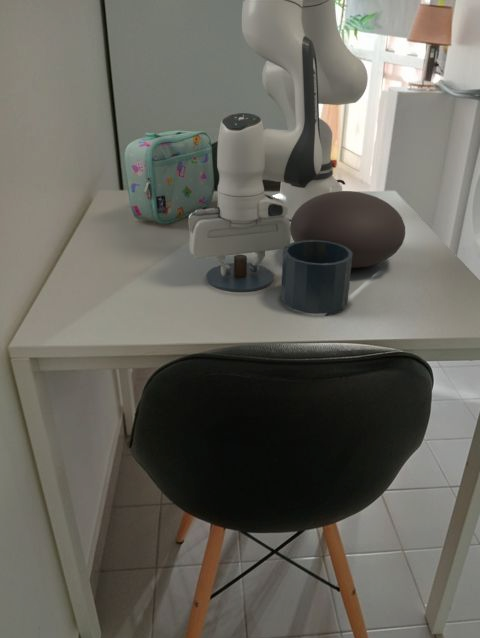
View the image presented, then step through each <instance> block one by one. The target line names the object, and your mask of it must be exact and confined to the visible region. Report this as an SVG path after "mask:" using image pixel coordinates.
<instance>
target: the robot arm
mask: <svg viewBox="0 0 480 638" xmlns="http://www.w3.org/2000/svg"><path fill="white" fill-rule="evenodd" d="M336 13H337V11H336V0H242V7H241V33H242V36H243V39H244V40H245V42H246V44H247V45H248V47H249V48H250V49H251V51H252V52H254V53H255V54H257V55H258V56H259V57H260V58H262V59H264V60H266V62H265V63H264V65H263V68H262V73H261V80H262V86H263V88H264V91H265V92H266V94H267V95H268V96H269V97H270V98H271V99H272V100H273V101H274V102H275V103H276V105H277V106H278V107H279V110H280V111H281V113H282V116H283V118H284V121H285V124H286V129H279V128H270V127H264V124H263V121H262V118H261V117H260V116H258V115H256V114H254V113H249V112H237V113H234V114H229V115H227V116H225V117H224V118H223V119H222V120H221V121H220V124H219V130H218V136H217V148H216V149H217V150H216V168H217V171H218V184H217V191H216V192H217V207H209V208H202V209H197V210H195V212H193V213H191V214H190V215H188V216H187V227H188V230H189V239H188V250H189V252H190V254H191V255H192V256H193V257H194V258H196V259H205V258H215V259H216V261H217V263H218V264H219V265H221V274H222V275H223V276H227V275H230V266H229V265H228V264H229V263H224V261H225V260H226V256H233V255H234V256H235V255H244V254H251V253H255V254H256V255H255V258H254V259H253V261H250V262H249V264H250V271H252V272H259V266H260V265H261V264H262V262H263V260H264V258H265V257H266V252H269V251H278V250H284V248H285V246H287V245H289V244H291V238H292V236H291V231H290V224H291V220H292V217H293V215H294V214H295V212H296V211H297V209H298V208H299V207H300V206H301V205H302V204H304V203H305V202H307V201H308V200H310V199H312V198H314V197H316V196H319V195H322V194H325V193H330V192H338V191H343V186H342V185H345V186H346V182H345V181H344V180H343V179H336V178H335V176H334V171H333V170H334V168H337V164H338V161H337V159H331V157H332V148H333V147H332V145H333V144H332V143H333V131H332V128H331V126H330V125H329V124H328V122H326V121H324V120H323V119H321V118H320V105H328V106H329V105H331V106H342V105H349V104H350V105H351V104H356V103H357V102H359V100H361V99H362V97H363V96H364V94H365V92H366V90H367V87H368V79H369V78H368V77H369V76H368V71H367V68H366V66H365V64H364V62H363V60H362V59H360V58H358V57H357V56H356V55H355V54H354V53H352V51H351V50H350V48H348V46H347V45H346V44H345V42H344V40H343V38H342V36H341V34H340V31H339V28H338V22H337V14H336ZM263 181H270V182H271V181H273V182H279V183H280V186H279V187H280V189H279V193H277V194H273V195H271V194H266V193H265V186H264V183H263ZM340 183H341V184H340ZM225 264H227V265H225Z"/></svg>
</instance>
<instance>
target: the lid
mask: <svg viewBox="0 0 480 638" xmlns="http://www.w3.org/2000/svg"><path fill="white" fill-rule="evenodd" d="M224 264H225V265H227V264H228V265H229V266H230V275H227V276H223V275H222V274H221V265H220V264H219V265H216V266H214V267H212V268H211V269H209V270H208V271H207V273H206V281H207V283H208V284H209V285H210V286H212V287H214V288H216V289H219V290H222V291H228V292H235V293H246V292H247V293H249V292H255V291H260V290H262V289H266V288H267V287H269V286H270V285H272V283H273V282H274V280H275V279H274V278H275V277H274V273H273V272H272V271H271V270H270V269H269V268H267V267H266V266H262V265H259V272H252V271H250V262H249V263H248V257H247V255H245V254H234V256H233V262H229V263H224Z"/></svg>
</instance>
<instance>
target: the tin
mask: <svg viewBox="0 0 480 638" xmlns="http://www.w3.org/2000/svg"><path fill="white" fill-rule="evenodd" d="M352 255H353V252H352V251H351V250H350V249H349V248H348V247H345V246H343V245H341V244H338V243H334V242H329V241H321V240H304V241H298V242H294V241H293V242H290V244H289V245H287V246H285V248H284V249H283V250H282V268H281V269H282V270H281V289H280V299H281V301H282V302H283V304H284V305H285V306H287V307H289V308H290V309H292V310H295V311H298V312H302V313H307V314H316V315H318V314H320V315H321V314H324V315H323V316H324V317H326V316H332V315H337V314H339V313H342V312H343V311H344V310H346V308H347V306H348V301H349V292H350V282H351V275H352V273H351V272H352V268H351V265H352Z"/></svg>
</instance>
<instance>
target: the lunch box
mask: <svg viewBox="0 0 480 638" xmlns="http://www.w3.org/2000/svg"><path fill="white" fill-rule="evenodd" d="M212 145H213V143H212V139H211V137H210V135H209V134H208V133H207V132H206V131H203V130H199V131H189V130H178V129H177V130H171V131H170V130H169V131H163V132H160V133H156V132H145V136H142V137H140V138H137V139H135V140H133V141H131V142H130V143H128V145H127V146H126V148H125V150H124V154H123V159H124V160H123V162H124V170H125V171H124V172H125V178H126V180H125V181H126V186H127V195H128V200H129V205H130V209H131V213H132V215H133V216H134V218H135V219H137V220H138V221H139V220H140V221H145V222H152V223H153V222H154V223H158V224H160V225H167V224H173V223H175V222H177V221H180V220H181V219H183V218H186V217H189V216H190V214H191V213H193V212H195V210H197V209H205V208H206V207H207V206H209V205H210V203H211V202H212V200H213V197H214V194H215V176H214V175H215V174H214V161H213V146H212Z"/></svg>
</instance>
